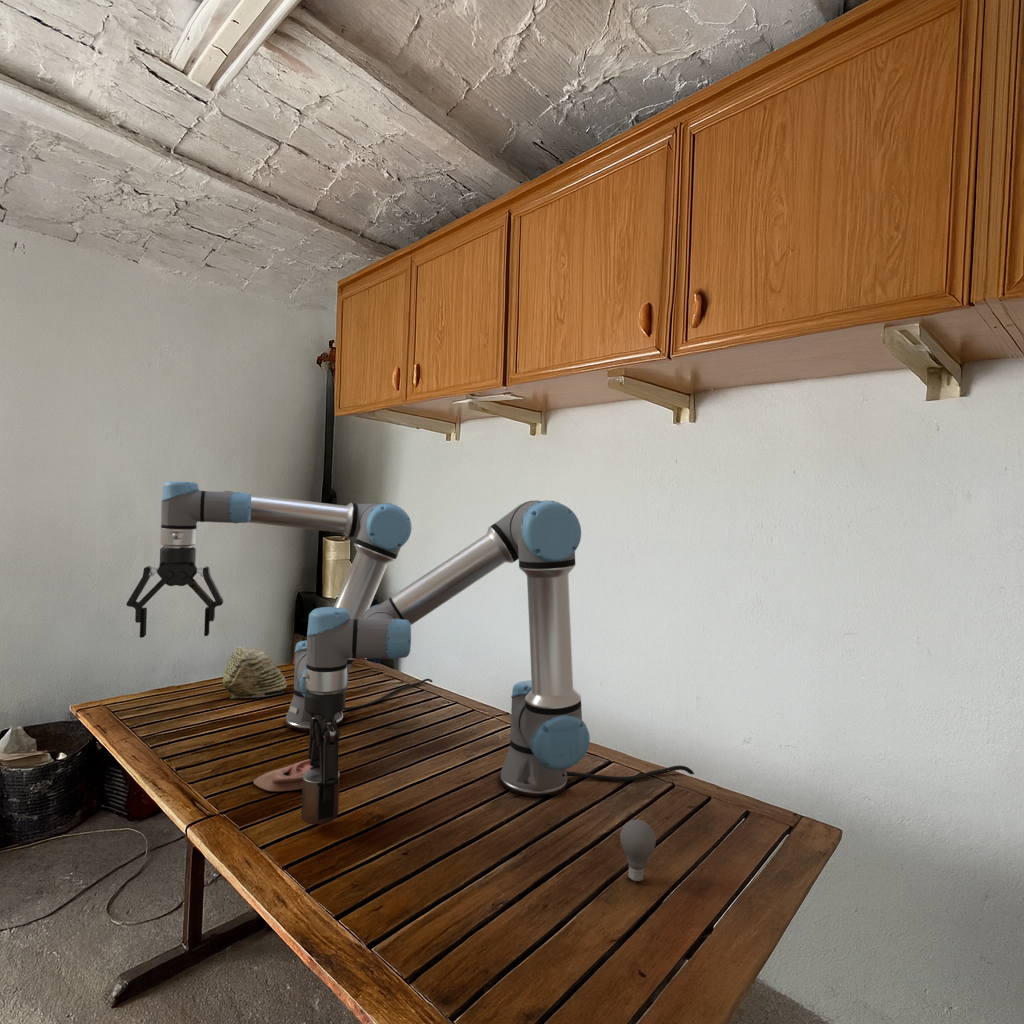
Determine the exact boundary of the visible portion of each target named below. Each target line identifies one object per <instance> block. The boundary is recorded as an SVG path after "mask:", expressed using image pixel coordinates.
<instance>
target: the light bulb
mask: <svg viewBox="0 0 1024 1024" xmlns="http://www.w3.org/2000/svg"><path fill="white" fill-rule="evenodd" d="M619 840H620V845H621V847H622V850H623V851H624V854H625V856H626V862H627V864H628V875H627V876H628V878H629V879H631V880H632V881H634V882H641V881H643V880H644V876H645V867H646V866H647V861H648V859H649V858H650V856H651V855H652V853H653V852H654V850H655V847H656V843H657V839H656V834H655V831H654V830H653V828H652V827H651V825H649V823H648V822H646V821H645V820H642V819H631V820H629V821H627V822H626V823H625V824H624V825H623V827H622V828H621V830H620V835H619Z"/></svg>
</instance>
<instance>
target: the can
mask: <svg viewBox="0 0 1024 1024" xmlns="http://www.w3.org/2000/svg"><path fill="white" fill-rule="evenodd" d="M340 778H341V773H340V771H339V770H338V784H335V785H334V803H333V817H329V818H324V819H319V820H318V818H317V814H318V790H319V786H318V787H317V783H319V782H320V781H321V779H320V768H315V769H312V770H309V771H307V772H306V773H305V774H304V775H303V788H302V789H301V791H302V792H301V793H302V794H301V815H300V818H301V821H303V822H304V823H306V824H309V825H324V824H327V823H330V822H333V821H334V820H336V819H337V818H338V815H339V803H340V802H339V801H340V800H339V799H340V781H341V780H340Z"/></svg>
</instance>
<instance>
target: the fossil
mask: <svg viewBox="0 0 1024 1024" xmlns="http://www.w3.org/2000/svg"><path fill="white" fill-rule="evenodd" d="M222 676H223V677H222V685H223V687H224V688H225V690H226V691H228V693H229V698H230V699H250V698H264V697H271V696H275V695H281V694H284V693H285V691H286V689H287V687H288V686H287V680H286V678H285V676H284V674H283V673H282V672H281V669H279V668H278V667H277V665H276V663H275V662H274V660H273V659H272V658H271V657H270V656H269V655H268V654H267V653H266V652H265V650H264V649H263V648H260V647H258V648H251V647H247V646H246V647H245V646H238V647H237V648H236V649H235V650H233V651H232V653H231V656H230V657H229V659H228V660H227V663H226V666H225V668H224V671H223V675H222Z"/></svg>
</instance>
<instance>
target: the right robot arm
mask: <svg viewBox="0 0 1024 1024" xmlns="http://www.w3.org/2000/svg"><path fill="white" fill-rule="evenodd" d="M581 539H582V527H581V522H580V521H579V518H578V517H577V515H576V514H575V512H574V511H573V510H572V509H571V508H570V507H568V506H567V505H565V504H563V503H562V502H561V503H560V502H558V501H555V500H547V499H545V500H537V499H536V500H528V501H525V502H523V503H521V504H518V505H517V506H516V507H515V508H513V509H511V511H510V512H508V513H507V514H505V515H503V517H501V518H500V519H498V520H497V521H495V522H494V523H493V524H492V525H490V526H488V527H487V532H486V534H484V535H483V536H481V537H480V538H478V539H477V540H475V541H474V542H473V543H470V544H469V545H467V546H466V547H465V548H463V549H462V550H460V551H458V552H457V553H456V554H454V555H452V556H451V557H450V558H448V559H447V560H445V561H444V562H442V563H440V564H439V565H437V566H436V567H434V568H433V569H431V570H430V571H429V572H427V573H425V574H424V575H422V576H420V577H419V578H417V579H416V580H414V581H413V582H412V583H410V584H409V585H407V586H406V587H403V588H402V589H401V590H399V591H397V592H396V593H394V594H393V595H391V596H390V597H389V598H387V599H386V600H384V601H383V602H381V603H379V604H375V605H372V606H370V607H369V609H368V610H367V611H366V612H365V614H364V615H363V617H362V619H350V616H349V611H348V610H347V609H345V608H340V607H339V608H337V607H334V606H322V607H317V608H314V609H313V610H312V611H311V612H310V613H309V614H308V622H307V623H308V624H307V633H306V640H307V658H306V671H307V673H306V674H303V679H306V689H307V691H306V692H305V704H304V709H305V711H306V712H308V713H310V732H309V736H308V737H309V738H308V749H307V750H308V751H307V752H308V753H307V760H308V759H310V766H312V767H311V768H310V770H312V769H315V768H320V779H321V781H320V782H319V783H317V787H318V786H319V790H318V814H317V818H318V820H319V819H324V818H329V817H333V803H334V785H335V784H338V771H339V741H340V735H341V732H340V730H339V729H338V726H337V721H336V720H335V718H334V715H335V714H336V713H338V712H341V711H342V712H343V711H344V710H343V709H344V708H345V707H346V694H347V690H346V691H345V690H344V688H345V687H346V682H347V659H348V658H352V659H354V660H356V659H368V660H369V659H375V660H376V659H383V660H386V659H387V660H388V659H389V660H394V659H403V658H407V657H409V655H410V653H411V646H412V625H414V624H415V623H417V622H418V621H420V620H421V619H422V618H424V617H426V616H427V615H429V614H431V612H433V611H435V610H436V609H438V608H439V607H441V606H442V605H444V604H445V603H447V602H448V601H450V600H451V599H453V598H454V597H455V596H457V595H459V594H461V593H463V591H465V590H466V589H467V588H469V587H470V586H472V585H473V584H475V583H477V582H478V581H480V580H482V579H483V578H484V577H485V576H487V575H489V574H491V572H493V571H495V570H496V569H498V568H500V567H501V566H502V565H504V564H506V563H508V564H513V563H515V562H517V561H518V569H519V570H521V572H523V574H525V576H526V584H527V585H526V589H527V606H528V607H527V609H528V631H529V633H528V634H529V654H530V677H531V678H530V679H531V680H530V679H529V680H521V681H517V682H516V683H514V685H513V687H512V693H511V696H510V697H511V710H510V735H509V737H510V739H509V749H508V751H507V754H506V757H505V759H504V761H503V765H502V767H501V771H500V784H501V786H502V787H503V788H505V790H508V792H511V793H513V794H516V795H518V796H523V797H530V798H531V797H532V798H547V797H552V796H555V795H559V794H561V793H562V792H563V791H565V790H566V788H567V787H568V777H574V778H582V779H591V780H600V781H609V782H610V781H611V782H634V781H639V780H642V779H646V778H650V777H652V776H656V775H663V774H667V773H670V772H674V771H684V772H686V773H688V774H689V775H695V772H694V771H693V770H692V768H689V767H688V766H686V765H672V766H669V767H665V768H661V769H655V770H651V771H647V772H644V773H640V774H637V775H628V776H614V775H603V774H594V773H585V772H577V771H567V770H566V769H570V768H572V767H574V766H576V765H577V764H578V763H579V762H580V761H581V760H582V759H583V758H584V757H585V756H586V754H587V753H588V750H589V747H590V741H591V736H590V733H589V729H588V726H587V724H586V723H585V721H583V712H582V711H583V710H582V696H581V694H580V693H579V692H578V691H577V690H575V688H574V673H573V671H574V670H573V649H572V630H571V629H572V623H571V603H570V601H571V600H570V578H569V574H570V573H571V572H572V570H574V568H575V567H576V550H577V549H578V548H579V545H580V543H581ZM353 622H354V623H353ZM668 770H669V771H668Z"/></svg>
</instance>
